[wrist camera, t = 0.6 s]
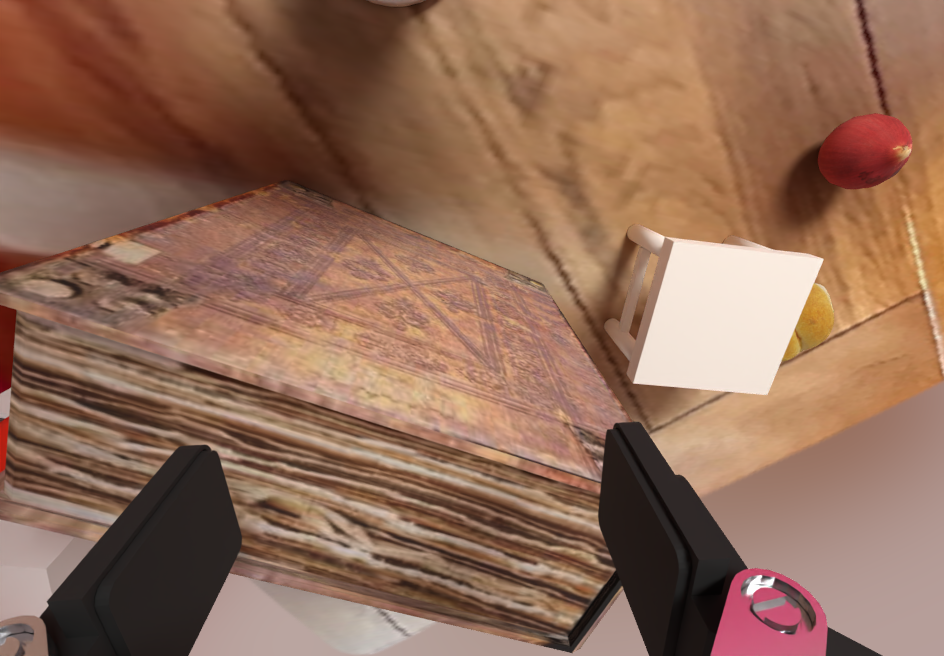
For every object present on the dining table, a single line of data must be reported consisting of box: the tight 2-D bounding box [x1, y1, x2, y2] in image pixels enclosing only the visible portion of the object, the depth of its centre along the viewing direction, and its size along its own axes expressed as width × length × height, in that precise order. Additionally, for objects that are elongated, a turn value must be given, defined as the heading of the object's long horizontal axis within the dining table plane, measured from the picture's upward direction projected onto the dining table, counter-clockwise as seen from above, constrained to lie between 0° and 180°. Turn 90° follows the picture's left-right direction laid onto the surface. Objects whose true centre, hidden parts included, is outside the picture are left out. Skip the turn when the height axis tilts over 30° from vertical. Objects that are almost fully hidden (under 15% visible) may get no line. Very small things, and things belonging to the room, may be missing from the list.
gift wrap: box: [0, 388, 97, 622], centre depth 35 cm, size 17×17×30 cm
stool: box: [604, 224, 824, 395], centre depth 42 cm, size 12×12×10 cm
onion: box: [818, 113, 912, 189], centre depth 39 cm, size 6×6×8 cm
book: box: [0, 180, 632, 653], centre depth 31 cm, size 25×9×30 cm, turn 67°
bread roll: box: [781, 283, 834, 362], centre depth 47 cm, size 8×9×4 cm
